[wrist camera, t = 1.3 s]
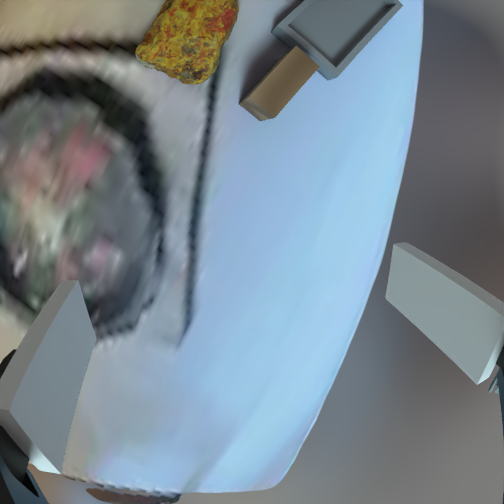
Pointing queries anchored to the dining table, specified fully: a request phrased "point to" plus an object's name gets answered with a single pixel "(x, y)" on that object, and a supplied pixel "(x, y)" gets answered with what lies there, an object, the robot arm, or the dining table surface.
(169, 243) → the dining table surface
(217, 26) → the rock
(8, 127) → the dining table surface
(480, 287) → the robot arm
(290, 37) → the tray
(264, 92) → the block
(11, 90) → the dining table surface
